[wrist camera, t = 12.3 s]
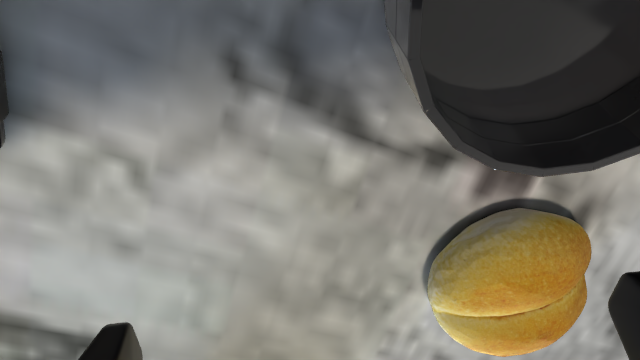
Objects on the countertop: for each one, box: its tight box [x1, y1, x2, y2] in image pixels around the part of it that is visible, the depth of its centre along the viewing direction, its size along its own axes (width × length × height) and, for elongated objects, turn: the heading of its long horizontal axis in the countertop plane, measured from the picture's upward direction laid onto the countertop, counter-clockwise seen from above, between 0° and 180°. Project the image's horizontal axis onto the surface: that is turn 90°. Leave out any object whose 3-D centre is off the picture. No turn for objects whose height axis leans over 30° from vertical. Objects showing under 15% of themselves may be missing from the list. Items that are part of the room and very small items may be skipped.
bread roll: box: [427, 208, 591, 357], centre depth 26 cm, size 8×9×4 cm
